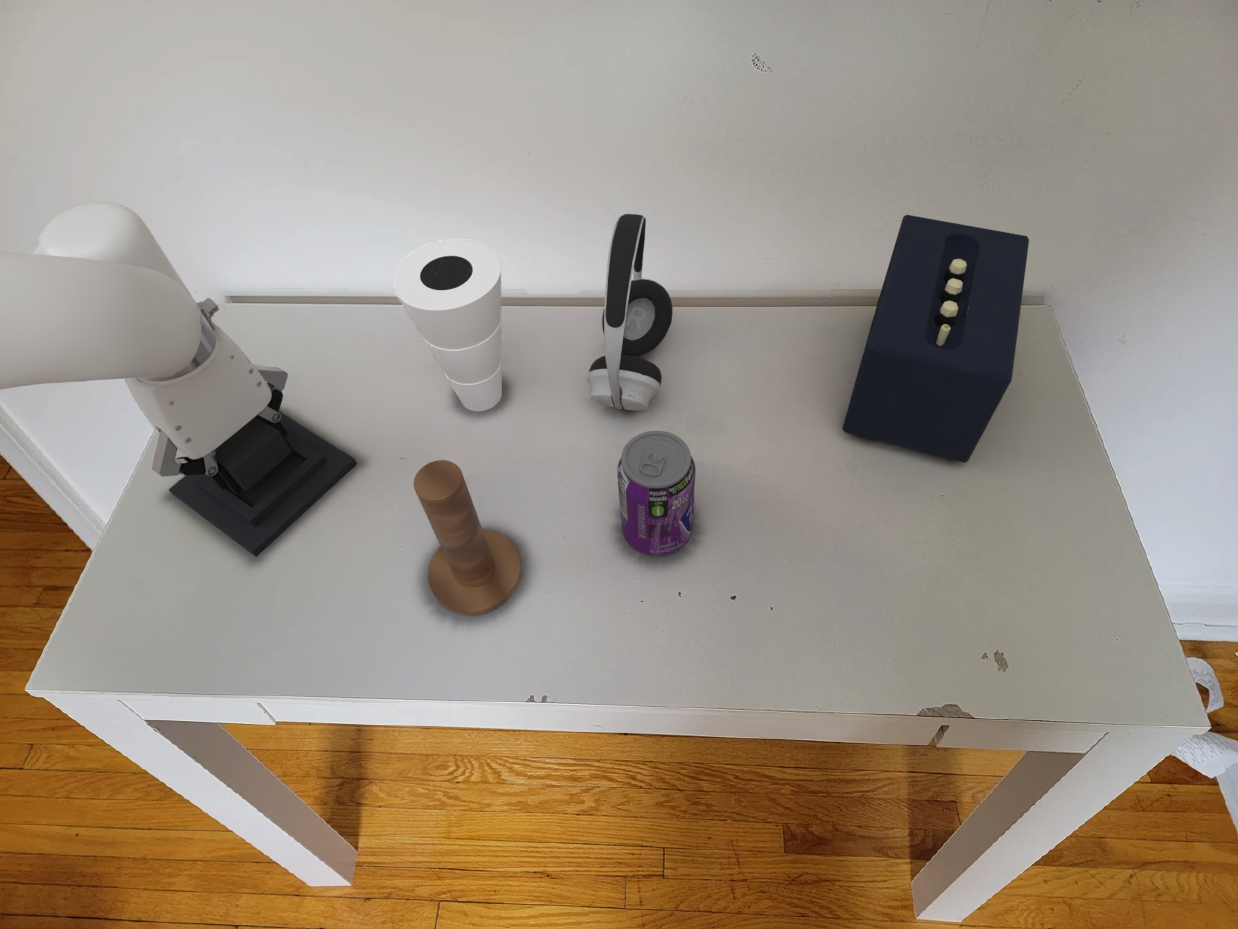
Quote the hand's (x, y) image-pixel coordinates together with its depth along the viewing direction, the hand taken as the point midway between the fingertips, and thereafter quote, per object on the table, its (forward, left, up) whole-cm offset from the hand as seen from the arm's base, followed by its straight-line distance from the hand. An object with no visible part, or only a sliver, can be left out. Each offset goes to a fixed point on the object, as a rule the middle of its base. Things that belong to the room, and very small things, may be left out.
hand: (255, 463), depth 81 cm
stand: (+4, -27, -3) cm, 27 cm away
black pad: (0, 0, +1) cm, 1 cm away
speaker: (+50, -53, -3) cm, 73 cm away
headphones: (+34, -25, -3) cm, 42 cm away
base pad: (0, 0, -3) cm, 3 cm away
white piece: (+22, -12, -3) cm, 25 cm away
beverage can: (+18, -39, -3) cm, 43 cm away
